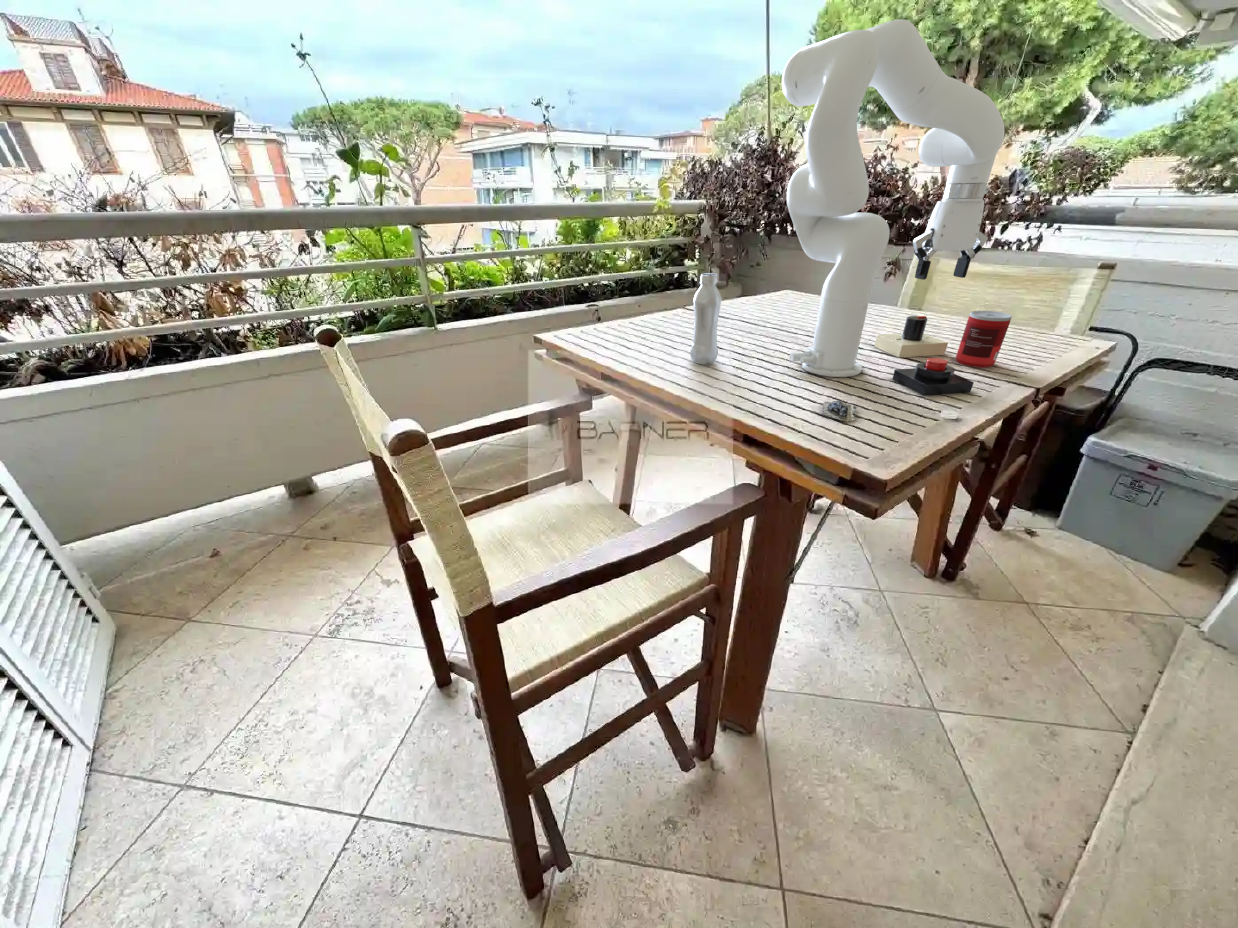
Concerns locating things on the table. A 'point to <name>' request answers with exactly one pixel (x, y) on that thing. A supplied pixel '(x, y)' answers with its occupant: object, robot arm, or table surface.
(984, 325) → the canned food
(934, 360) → the button
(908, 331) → the knob
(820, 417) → the table surface
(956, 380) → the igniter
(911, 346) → the beige flat block
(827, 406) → the blueberries
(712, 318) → the plastic bottle
